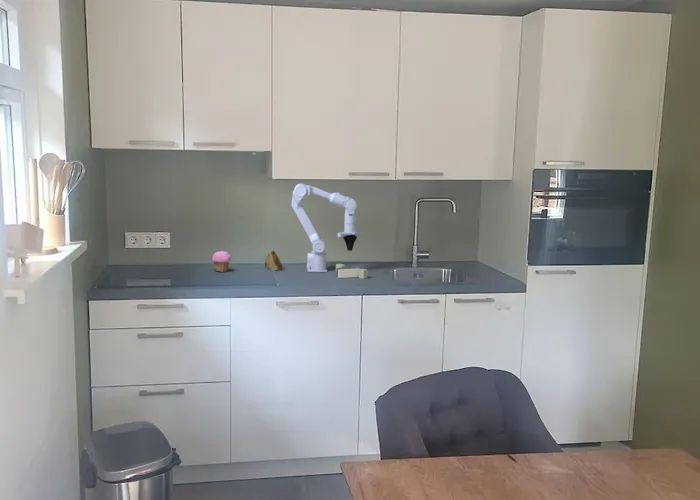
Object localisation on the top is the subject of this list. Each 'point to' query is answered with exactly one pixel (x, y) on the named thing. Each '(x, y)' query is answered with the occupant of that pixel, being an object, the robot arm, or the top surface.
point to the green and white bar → (362, 272)
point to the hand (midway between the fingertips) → (349, 250)
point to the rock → (273, 262)
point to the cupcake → (221, 261)
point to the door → (348, 273)
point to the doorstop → (340, 269)
